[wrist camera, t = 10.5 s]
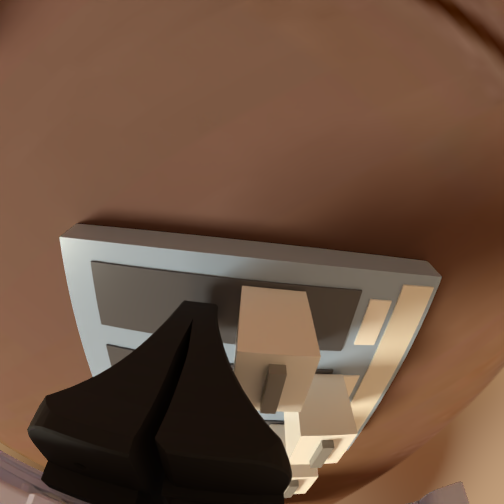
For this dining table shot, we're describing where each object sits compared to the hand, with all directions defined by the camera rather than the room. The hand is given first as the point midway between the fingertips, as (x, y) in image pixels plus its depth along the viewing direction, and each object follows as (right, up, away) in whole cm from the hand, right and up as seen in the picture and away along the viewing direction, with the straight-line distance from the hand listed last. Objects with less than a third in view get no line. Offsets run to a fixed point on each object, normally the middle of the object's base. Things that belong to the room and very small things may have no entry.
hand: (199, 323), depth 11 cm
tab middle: (+5, -4, +3) cm, 7 cm away
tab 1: (+3, 0, +1) cm, 3 cm away
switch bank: (+1, -3, +4) cm, 5 cm away
